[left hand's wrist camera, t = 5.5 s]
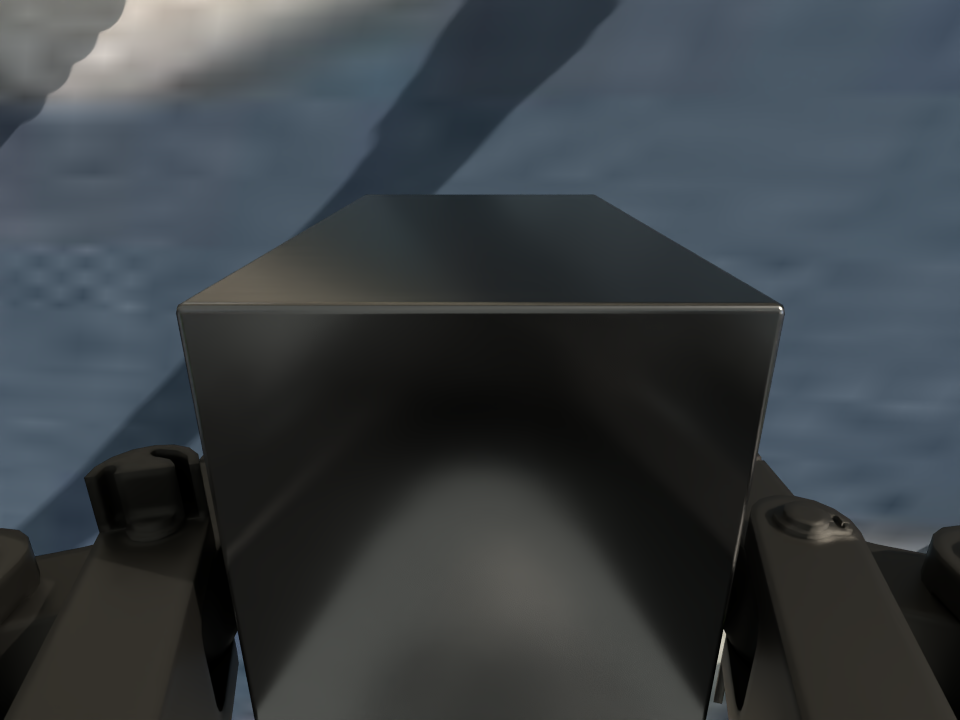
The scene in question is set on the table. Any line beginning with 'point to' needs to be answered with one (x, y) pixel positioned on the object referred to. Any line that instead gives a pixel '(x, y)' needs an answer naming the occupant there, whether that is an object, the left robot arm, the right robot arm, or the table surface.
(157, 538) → the left robot arm
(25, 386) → the table surface
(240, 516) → the bar
